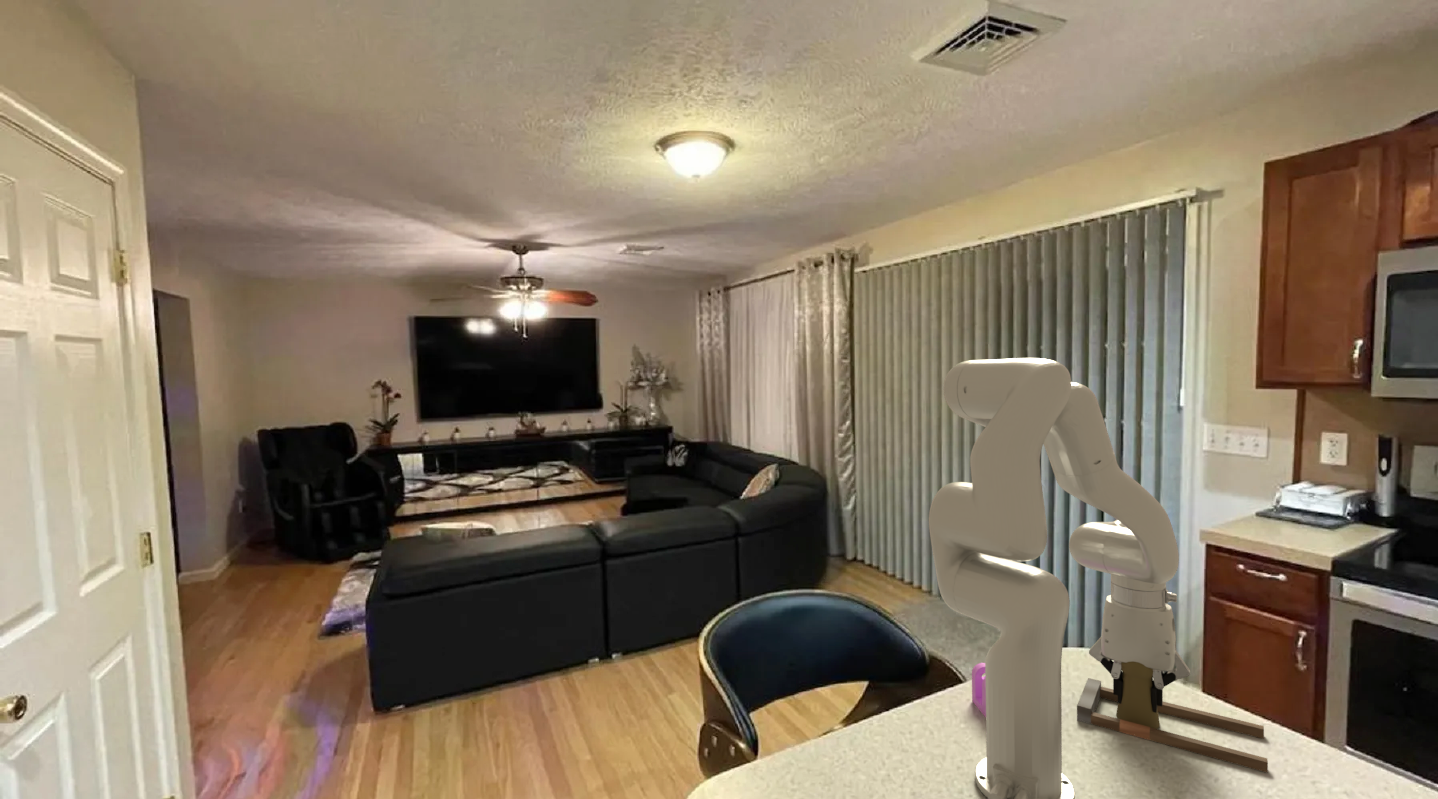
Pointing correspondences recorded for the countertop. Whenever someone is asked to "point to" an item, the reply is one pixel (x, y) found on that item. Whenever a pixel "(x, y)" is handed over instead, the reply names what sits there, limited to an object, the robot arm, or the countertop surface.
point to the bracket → (979, 687)
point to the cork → (1137, 695)
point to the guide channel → (1088, 715)
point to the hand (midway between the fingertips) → (1137, 703)
